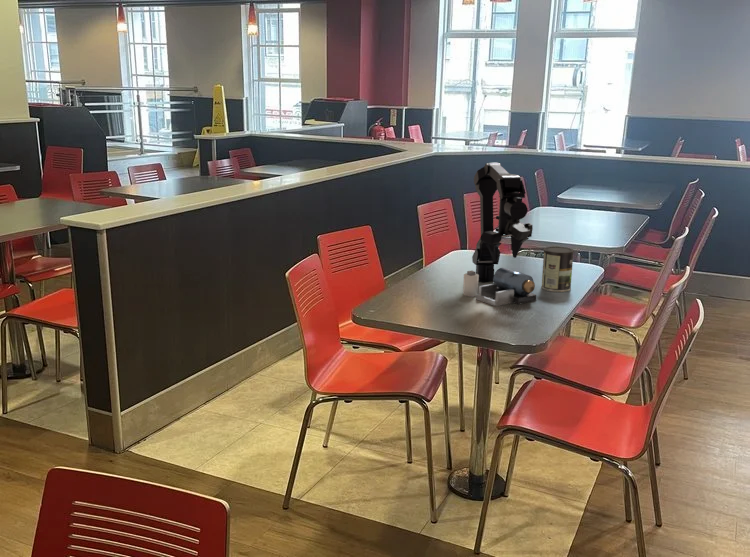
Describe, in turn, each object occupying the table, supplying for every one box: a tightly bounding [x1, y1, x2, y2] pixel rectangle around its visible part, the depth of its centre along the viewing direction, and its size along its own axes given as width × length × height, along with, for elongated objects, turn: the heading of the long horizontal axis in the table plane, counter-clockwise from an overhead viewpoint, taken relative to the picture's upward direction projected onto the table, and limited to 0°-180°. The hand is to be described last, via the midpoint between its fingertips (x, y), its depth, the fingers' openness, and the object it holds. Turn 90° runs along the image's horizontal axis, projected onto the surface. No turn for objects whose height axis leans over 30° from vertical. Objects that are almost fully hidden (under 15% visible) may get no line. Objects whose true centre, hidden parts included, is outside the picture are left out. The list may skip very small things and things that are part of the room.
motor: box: [475, 267, 537, 307], centre depth 232 cm, size 15×16×9 cm
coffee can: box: [541, 246, 575, 293], centre depth 245 cm, size 10×10×14 cm
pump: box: [462, 270, 479, 298], centre depth 237 cm, size 5×5×8 cm
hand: (505, 259), depth 233 cm, fingers open, 9 cm apart
